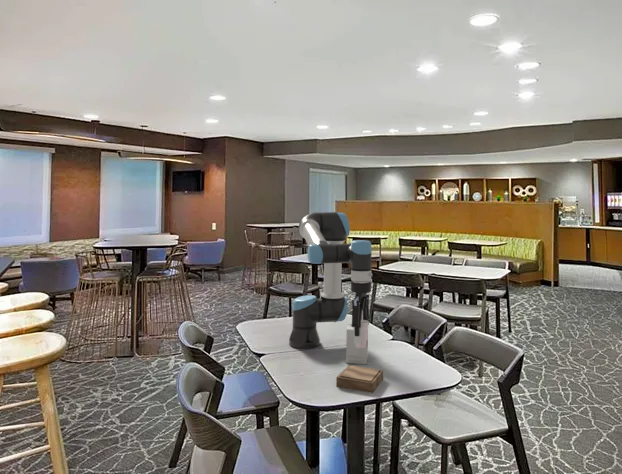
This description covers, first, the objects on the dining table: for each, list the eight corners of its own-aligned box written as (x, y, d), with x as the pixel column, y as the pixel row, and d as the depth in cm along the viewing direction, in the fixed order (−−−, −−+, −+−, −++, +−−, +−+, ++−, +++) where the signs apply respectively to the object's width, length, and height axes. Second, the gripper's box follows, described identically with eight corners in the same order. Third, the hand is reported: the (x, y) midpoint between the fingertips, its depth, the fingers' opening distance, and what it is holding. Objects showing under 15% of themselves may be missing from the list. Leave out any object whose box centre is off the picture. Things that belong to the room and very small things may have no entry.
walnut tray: (349, 373, 176) (349, 363, 176) (382, 379, 170) (383, 369, 170) (336, 386, 163) (336, 376, 163) (372, 393, 157) (372, 382, 157)
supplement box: (366, 364, 186) (367, 330, 185) (345, 363, 188) (346, 329, 187) (368, 357, 195) (368, 324, 194) (348, 356, 197) (348, 323, 196)
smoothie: (364, 350, 161) (365, 312, 160) (349, 347, 165) (349, 310, 164) (371, 345, 167) (372, 309, 166) (356, 342, 170) (356, 307, 169)
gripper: (362, 286, 154) (362, 350, 155) (377, 278, 171) (377, 336, 173) (342, 284, 157) (342, 347, 158) (359, 277, 174) (359, 334, 176)
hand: (360, 341), depth 165 cm, fingers closed on smoothie, 6 cm apart
